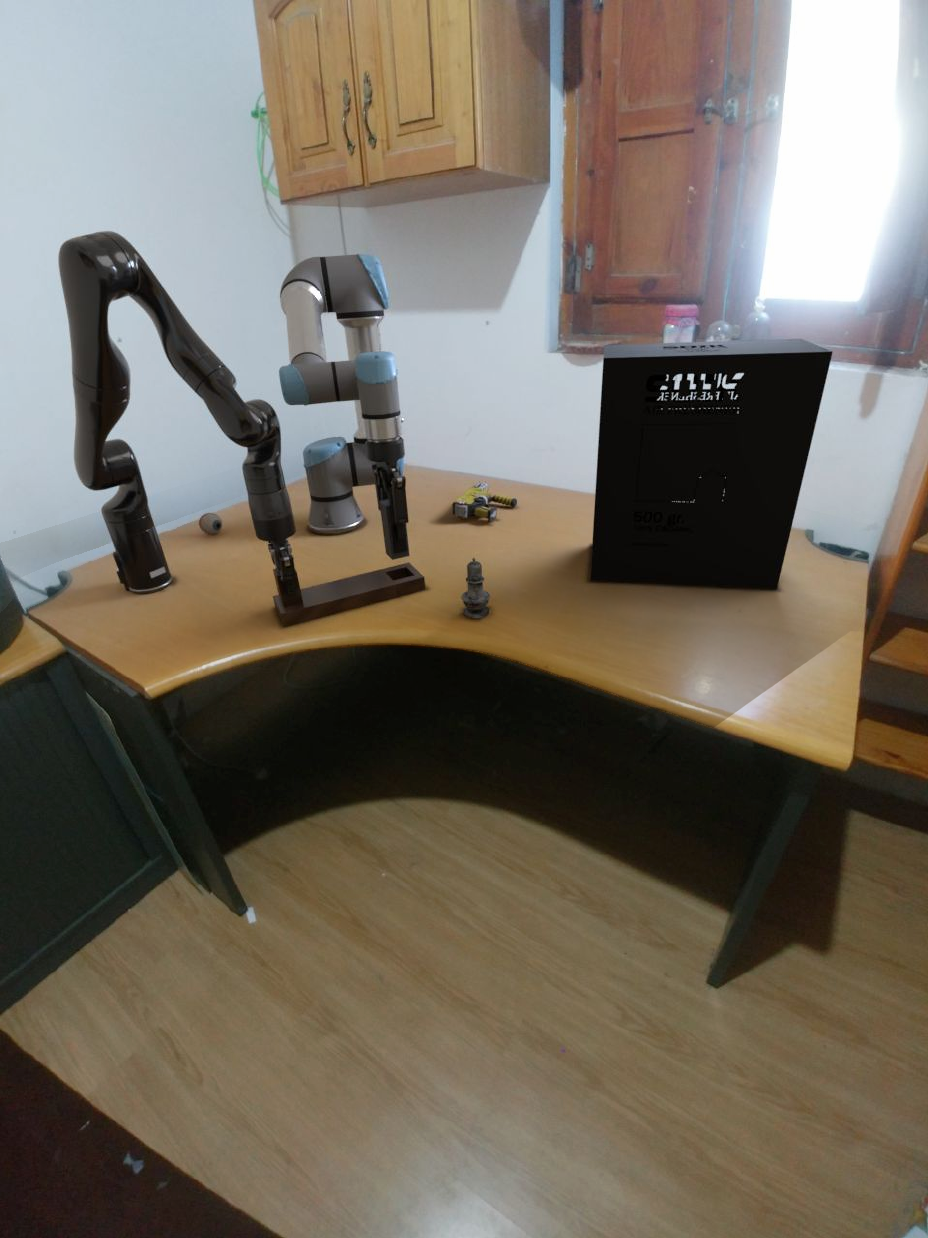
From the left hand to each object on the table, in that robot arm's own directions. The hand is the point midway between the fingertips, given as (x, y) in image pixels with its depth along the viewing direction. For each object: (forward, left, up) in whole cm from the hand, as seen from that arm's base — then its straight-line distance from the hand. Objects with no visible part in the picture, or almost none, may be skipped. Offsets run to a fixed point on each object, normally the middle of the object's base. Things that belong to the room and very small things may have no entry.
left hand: (289, 591), depth 123 cm
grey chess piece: (+38, +1, -5) cm, 39 cm away
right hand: (+20, +13, +4) cm, 24 cm away
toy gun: (+37, +62, -5) cm, 72 cm away
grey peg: (+20, +13, +2) cm, 24 cm away
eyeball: (-39, +44, -5) cm, 59 cm away
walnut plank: (+10, +6, -5) cm, 13 cm away
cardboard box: (+82, +22, -5) cm, 85 cm away
